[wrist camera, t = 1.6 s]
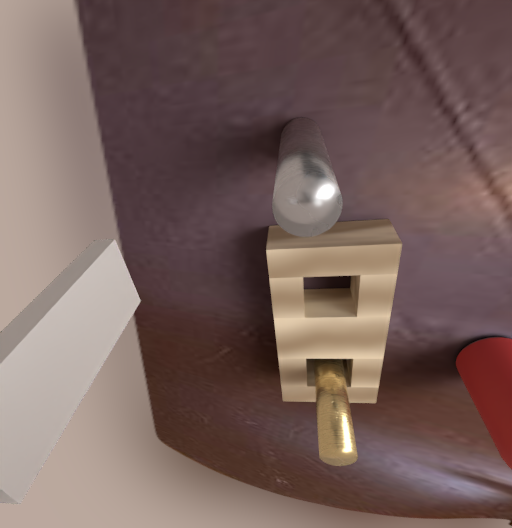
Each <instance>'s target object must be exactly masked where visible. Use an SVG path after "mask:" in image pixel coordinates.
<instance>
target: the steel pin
mask: <svg viewBox="0 0 512 528" xmlns="http://www.w3.org/2000/svg"><path fill="white" fill-rule="evenodd" d="M342 205H343V204H342V196H341V193H340V189H339V186H338V183H337V180H336V177H335V174H334V171H333V168H332V165H331V162H330V159H329V156H328V152H327V149H326V146H325V143H324V140H323V137H322V134H321V131H320V128H319V127H318V125H317V124H316V123H315V122H314V121H313V120H311V119H309V118H303V117H302V118H296V119H293V120H292V121H290V122H289V123H288V124H287V125H286V126H285V127H284V129H283V131H282V134H281V140H280V148H279V156H278V164H277V171H276V179H275V187H274V195H273V203H272V210H273V215H274V218H275V220H276V221H277V223H278V224H279V226H280V227H281V228H282V229H284V230H285V231H286V232H288V233H290V234H292V235H295V236H299V237H312V236H317V235H319V234H322V233H324V232H326V231H327V230H329V229H330V228H331V227H332V226H333V225H334V224H335V223H336V222H337V220H338V218H339V216H340V214H341V211H342Z"/></svg>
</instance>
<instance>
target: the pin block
mask: <svg viewBox="0 0 512 528" xmlns="http://www.w3.org/2000/svg"><path fill="white" fill-rule="evenodd" d="M401 248H402V242H401V240H400V239H399V237H398V235H397V233H396V231H395V229H394V228H393V226H392V224H391V222H390V220H389V219H379V220H362V221H345V222H336V223H335V224H334V225H333V226H332V227H331V228H330V229H329V230H327V231H326V232H324V233H322V234H319V235H317V236H312V237H299V236H295V235H292V234H290V233H288V232H286V231H285V230H284V229H282V228H281V227H280V226H279V225H275V226H269V231H268V239H267V246H266V254H267V263H268V272H269V281H270V290H271V298H272V307H273V316H274V325H275V334H276V343H277V352H278V361H279V369H280V378H281V387H282V396H283V401H300V402H316V394H315V378H314V363H313V359H342V360H343V367H344V373H345V379H346V386H347V392H348V398H349V403H376V400H377V394H378V388H379V382H380V376H381V369H382V363H383V357H384V351H385V345H386V339H387V333H388V327H389V321H390V315H391V309H392V303H393V297H394V291H395V285H396V279H397V273H398V266H399V260H400V254H401ZM323 276H351V284H350V288H335V289H303V277H323Z"/></svg>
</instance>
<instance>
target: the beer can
mask: <svg viewBox="0 0 512 528" xmlns="http://www.w3.org/2000/svg"><path fill="white" fill-rule="evenodd" d="M456 367H457V370H458V372H459V374H460V376H461V378H462V380H463V382H464V384H465V386H466V388H467V390H468V392H469V394H470V396H471V398H472V400H473V402H474V404H475V406H476V408H477V410H478V412H479V413H480V415H481V417H482V419H483V421H484V423H485V425H486V427H487V429H488V431H489V433H490V435H491V437H492V439H493V441H494V443H495V445H496V447H497V449H498V451H499V453H500V455H501V457H502V458H503V460H504V461H505V462H506V464H507V465H508V466H509V467H510V468H511V469H512V339H510V338H504V337H489V338H484V339H480V340H477V341H475V342H473V343H470V344H469V345H467V346H466V347H465V348H463V349H462V350H461V352H460V353H459V354H458V356H457V359H456Z"/></svg>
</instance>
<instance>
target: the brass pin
mask: <svg viewBox="0 0 512 528" xmlns="http://www.w3.org/2000/svg"><path fill="white" fill-rule="evenodd" d="M313 363H314V378H315V394H316V409H317V425H318V440H319V456H320V459H321V460H322V461H323V462H325V463H327V464H330V465H335V466H345V465H350V464H352V463H354V462H355V461H356V460H357V458H358V456H357V449H356V443H355V437H354V430H353V424H352V418H351V411H350V405H349V398H348V392H347V386H346V379H345V373H344V367H343V360H342V359H313Z"/></svg>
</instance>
